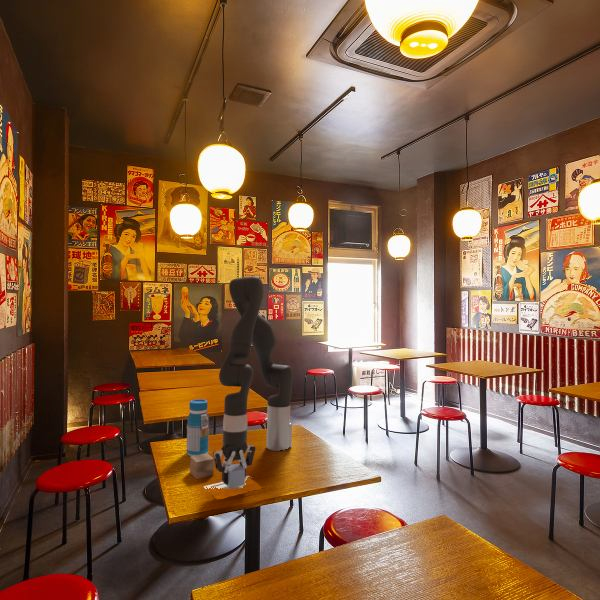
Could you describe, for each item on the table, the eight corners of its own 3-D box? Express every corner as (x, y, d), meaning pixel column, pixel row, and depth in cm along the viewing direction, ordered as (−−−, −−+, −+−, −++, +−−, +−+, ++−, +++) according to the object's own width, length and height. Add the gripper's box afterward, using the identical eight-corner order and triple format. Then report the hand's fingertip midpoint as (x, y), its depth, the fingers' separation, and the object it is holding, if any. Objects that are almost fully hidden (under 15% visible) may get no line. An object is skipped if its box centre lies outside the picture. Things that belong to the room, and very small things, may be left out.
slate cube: (237, 478, 137) (238, 463, 137) (244, 484, 133) (245, 468, 133) (223, 482, 134) (223, 466, 134) (229, 488, 130) (230, 472, 130)
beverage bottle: (185, 457, 158) (186, 404, 158) (186, 449, 167) (187, 398, 166) (208, 456, 160) (210, 403, 160) (208, 448, 169) (209, 398, 168)
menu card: (248, 476, 143) (248, 475, 143) (264, 489, 134) (264, 487, 134) (203, 487, 134) (203, 486, 134) (216, 502, 125) (217, 500, 125)
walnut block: (206, 470, 148) (207, 453, 148) (213, 476, 143) (213, 458, 143) (189, 474, 144) (190, 456, 144) (196, 480, 139) (196, 462, 139)
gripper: (250, 421, 141) (248, 472, 141) (209, 427, 133) (207, 482, 133) (261, 427, 135) (259, 481, 135) (218, 434, 127) (217, 491, 127)
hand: (233, 481), depth 134 cm, fingers closed on slate cube, 5 cm apart
